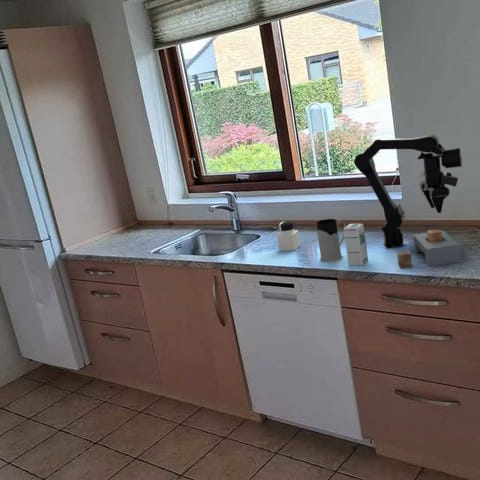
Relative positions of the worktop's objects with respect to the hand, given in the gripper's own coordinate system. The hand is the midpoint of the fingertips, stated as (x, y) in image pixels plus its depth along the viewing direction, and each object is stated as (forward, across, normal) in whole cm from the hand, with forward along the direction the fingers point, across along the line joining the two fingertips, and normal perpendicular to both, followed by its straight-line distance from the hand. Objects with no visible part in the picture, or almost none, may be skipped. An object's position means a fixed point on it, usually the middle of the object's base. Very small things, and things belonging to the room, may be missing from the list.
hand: (436, 210), depth 213 cm
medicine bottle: (+13, +23, +57) cm, 63 cm away
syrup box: (+13, -10, +32) cm, 36 cm away
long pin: (+13, -14, +5) cm, 20 cm away
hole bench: (+13, -14, +4) cm, 20 cm away
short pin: (+13, -21, +17) cm, 30 cm away
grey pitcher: (+13, +2, +39) cm, 41 cm away
